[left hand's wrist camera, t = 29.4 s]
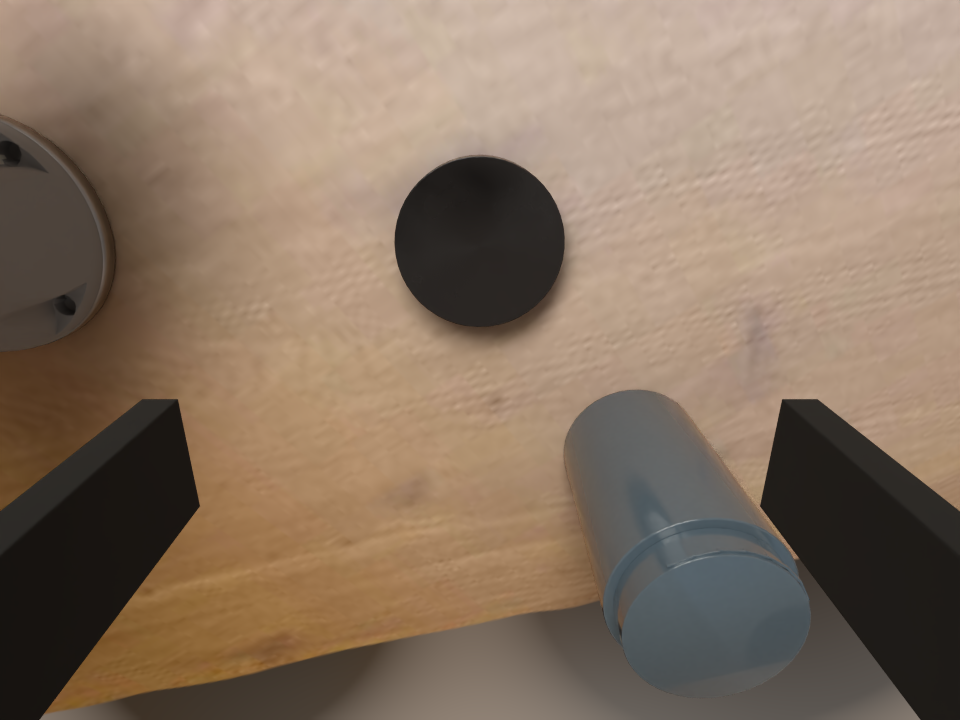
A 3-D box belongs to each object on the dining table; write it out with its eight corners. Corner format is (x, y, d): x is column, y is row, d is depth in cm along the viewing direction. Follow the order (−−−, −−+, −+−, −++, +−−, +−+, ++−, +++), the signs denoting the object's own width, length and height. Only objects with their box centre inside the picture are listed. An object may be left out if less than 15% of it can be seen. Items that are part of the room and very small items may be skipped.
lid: (368, 206, 38) (361, 211, 36) (514, 122, 36) (516, 121, 34) (449, 342, 41) (447, 353, 39) (586, 271, 40) (592, 279, 37)
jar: (715, 473, 45) (846, 662, 29) (596, 524, 47) (657, 730, 31) (667, 366, 42) (784, 513, 26) (541, 425, 44) (577, 598, 28)
